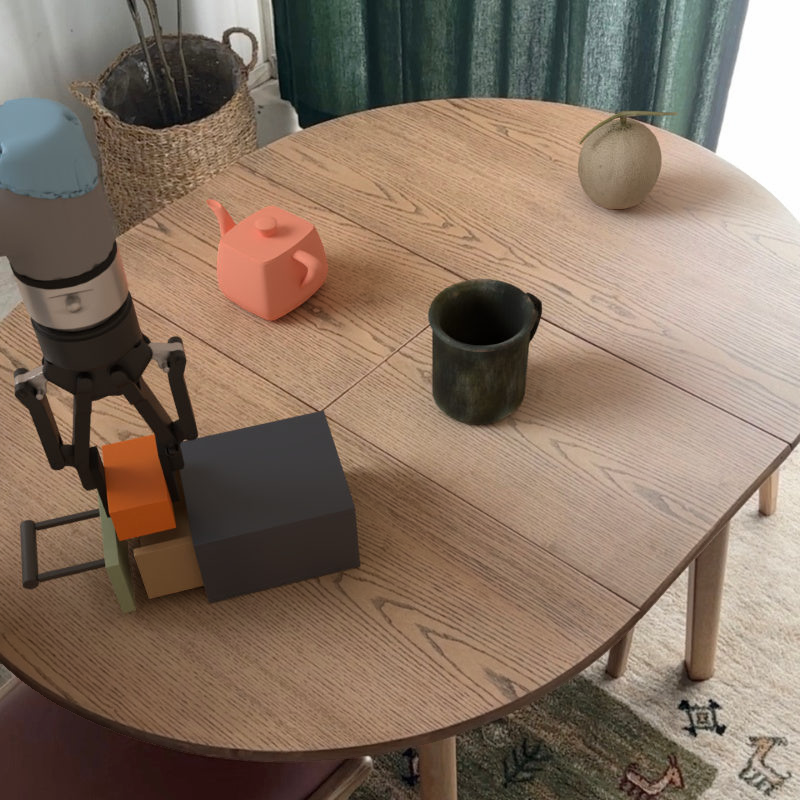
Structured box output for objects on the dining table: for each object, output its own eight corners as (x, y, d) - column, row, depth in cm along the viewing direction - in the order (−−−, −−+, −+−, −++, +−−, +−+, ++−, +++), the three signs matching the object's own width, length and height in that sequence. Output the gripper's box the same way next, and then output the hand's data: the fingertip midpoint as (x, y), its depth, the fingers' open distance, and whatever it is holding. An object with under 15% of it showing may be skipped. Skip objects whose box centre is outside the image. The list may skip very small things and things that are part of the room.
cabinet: (209, 604, 99) (193, 545, 92) (190, 502, 107) (174, 442, 101) (360, 566, 101) (355, 507, 95) (330, 470, 110) (323, 410, 103)
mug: (407, 394, 117) (405, 312, 109) (498, 332, 124) (503, 250, 115) (478, 447, 112) (482, 365, 103) (569, 378, 118) (579, 296, 110)
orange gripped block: (119, 541, 93) (109, 513, 90) (111, 474, 98) (101, 445, 95) (176, 527, 94) (168, 499, 91) (165, 462, 99) (156, 433, 96)
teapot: (293, 343, 123) (283, 274, 116) (186, 284, 132) (171, 215, 124) (356, 292, 130) (351, 223, 122) (251, 238, 138) (240, 170, 130)
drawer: (37, 634, 96) (14, 589, 91) (32, 537, 104) (11, 490, 98) (267, 578, 100) (258, 531, 94) (246, 488, 107) (236, 440, 102)
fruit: (556, 187, 144) (566, 87, 133) (634, 173, 146) (650, 73, 135) (585, 232, 137) (598, 130, 126) (667, 216, 139) (687, 115, 128)
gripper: (-47, 360, 75) (42, 554, 92) (207, 309, 78) (248, 506, 95) (-46, 294, 80) (38, 490, 97) (193, 249, 83) (234, 446, 100)
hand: (142, 497), depth 96 cm, fingers closed on orange gripped block, 5 cm apart
